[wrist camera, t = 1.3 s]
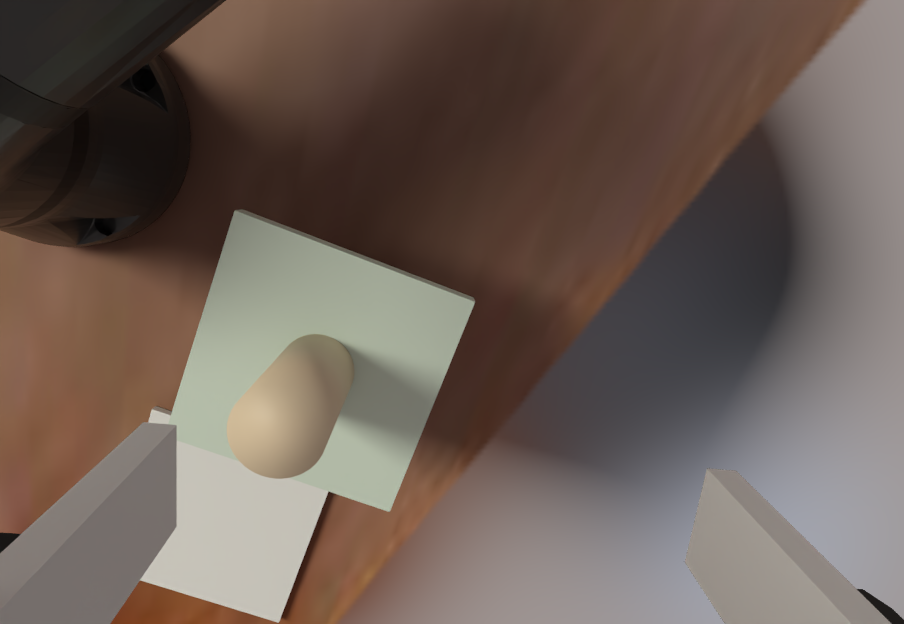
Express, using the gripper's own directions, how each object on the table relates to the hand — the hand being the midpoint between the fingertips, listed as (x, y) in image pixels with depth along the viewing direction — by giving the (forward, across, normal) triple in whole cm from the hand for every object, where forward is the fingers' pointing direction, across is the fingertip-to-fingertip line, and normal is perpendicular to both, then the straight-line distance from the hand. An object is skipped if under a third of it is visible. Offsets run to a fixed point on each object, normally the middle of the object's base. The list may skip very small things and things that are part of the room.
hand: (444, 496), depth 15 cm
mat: (+28, -14, -20) cm, 37 cm away
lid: (+18, -6, -3) cm, 19 cm away
